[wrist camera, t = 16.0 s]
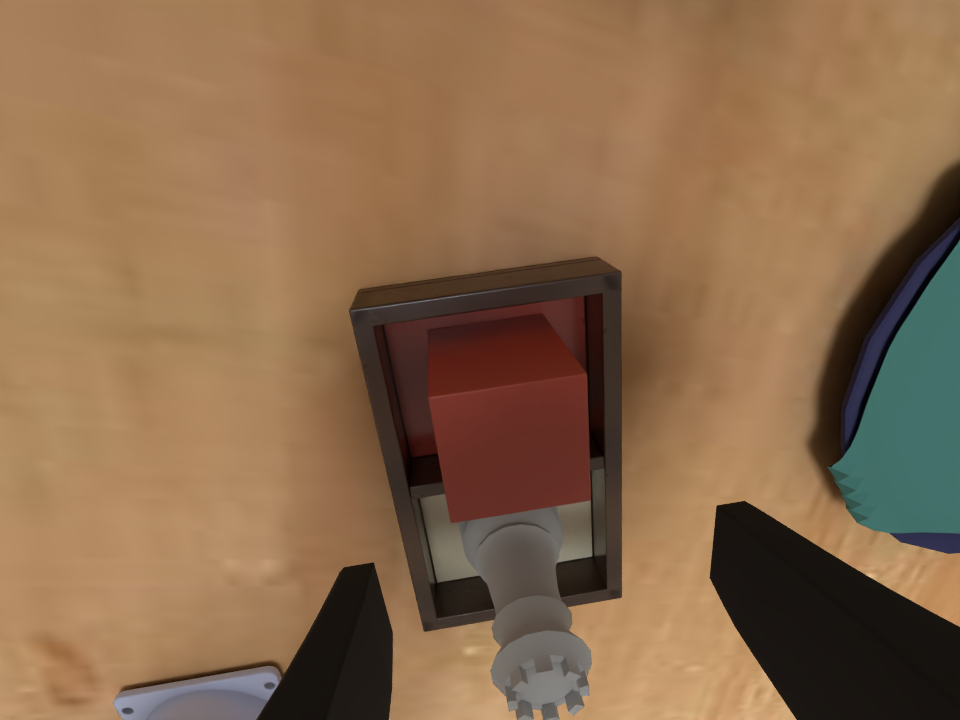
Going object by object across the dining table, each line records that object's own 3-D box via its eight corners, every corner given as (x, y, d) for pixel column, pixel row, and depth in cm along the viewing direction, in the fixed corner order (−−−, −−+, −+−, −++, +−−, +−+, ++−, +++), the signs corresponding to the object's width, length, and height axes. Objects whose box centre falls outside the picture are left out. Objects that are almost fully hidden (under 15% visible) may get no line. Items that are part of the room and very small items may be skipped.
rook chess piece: (562, 474, 21) (633, 642, 14) (551, 553, 23) (609, 739, 16) (460, 476, 21) (478, 650, 14) (456, 556, 23) (471, 750, 15)
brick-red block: (550, 414, 20) (591, 501, 15) (444, 430, 20) (450, 524, 15) (543, 312, 18) (588, 373, 13) (427, 329, 18) (427, 397, 13)
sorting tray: (603, 556, 24) (622, 598, 22) (424, 586, 24) (423, 632, 22) (597, 256, 18) (622, 270, 16) (358, 289, 18) (348, 309, 16)
